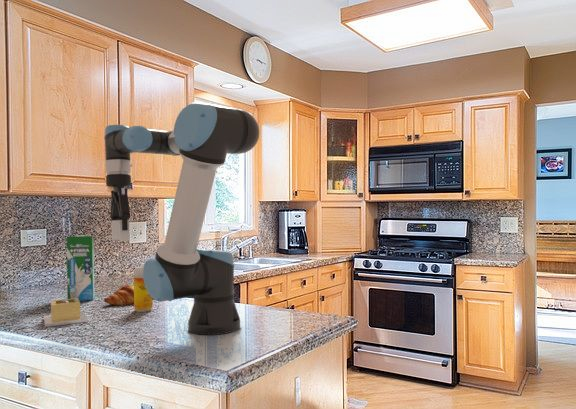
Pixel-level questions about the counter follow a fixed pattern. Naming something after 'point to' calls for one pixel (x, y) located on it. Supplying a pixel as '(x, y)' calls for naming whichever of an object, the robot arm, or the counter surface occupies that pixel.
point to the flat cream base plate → (49, 321)
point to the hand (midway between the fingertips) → (120, 240)
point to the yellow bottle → (141, 292)
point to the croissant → (122, 296)
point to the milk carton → (80, 268)
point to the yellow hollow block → (65, 309)
